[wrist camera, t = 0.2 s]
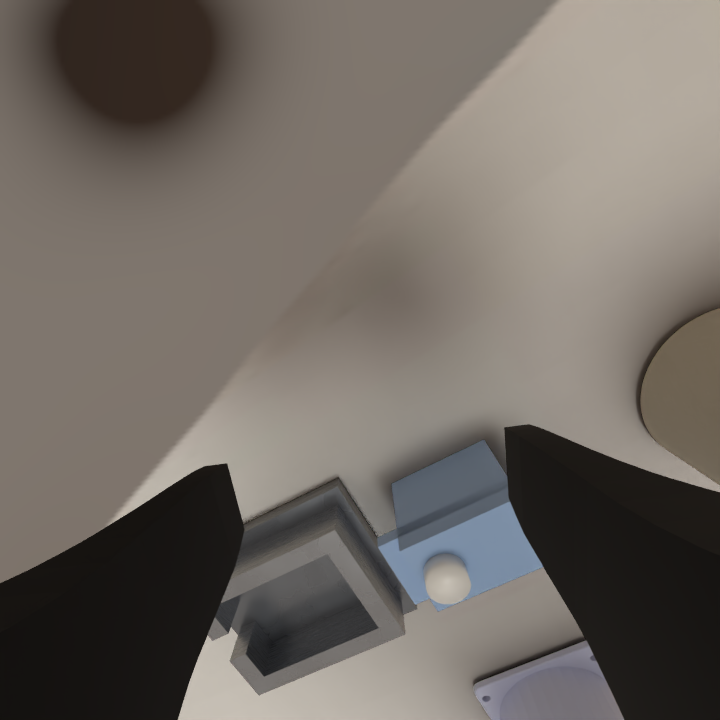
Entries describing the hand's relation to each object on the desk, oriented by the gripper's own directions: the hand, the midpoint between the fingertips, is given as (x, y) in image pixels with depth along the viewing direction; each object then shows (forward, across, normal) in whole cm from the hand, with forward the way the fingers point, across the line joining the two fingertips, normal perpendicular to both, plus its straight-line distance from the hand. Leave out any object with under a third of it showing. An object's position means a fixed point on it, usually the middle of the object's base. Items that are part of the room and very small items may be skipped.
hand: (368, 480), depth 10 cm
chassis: (+10, +6, +12) cm, 16 cm away
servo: (+10, -4, +7) cm, 13 cm away
